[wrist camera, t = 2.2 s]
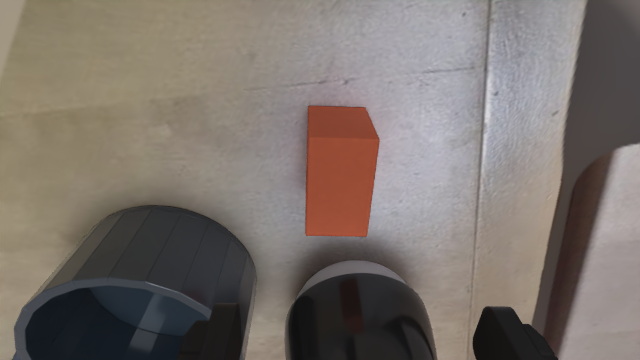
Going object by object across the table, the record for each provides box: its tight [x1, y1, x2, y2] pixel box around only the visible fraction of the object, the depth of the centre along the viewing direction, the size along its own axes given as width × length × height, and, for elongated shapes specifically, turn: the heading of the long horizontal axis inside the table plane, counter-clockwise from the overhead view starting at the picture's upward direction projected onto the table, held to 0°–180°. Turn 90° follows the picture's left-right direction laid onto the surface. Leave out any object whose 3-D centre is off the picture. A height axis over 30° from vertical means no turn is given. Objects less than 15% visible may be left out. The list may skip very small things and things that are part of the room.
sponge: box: [305, 106, 379, 237], centre depth 21 cm, size 4×6×5 cm, turn 178°
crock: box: [14, 206, 257, 360], centre depth 25 cm, size 13×13×7 cm
